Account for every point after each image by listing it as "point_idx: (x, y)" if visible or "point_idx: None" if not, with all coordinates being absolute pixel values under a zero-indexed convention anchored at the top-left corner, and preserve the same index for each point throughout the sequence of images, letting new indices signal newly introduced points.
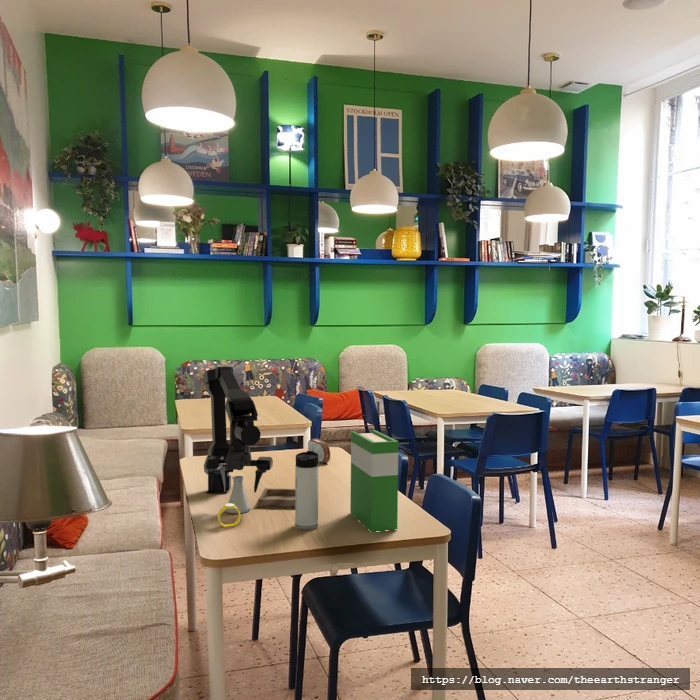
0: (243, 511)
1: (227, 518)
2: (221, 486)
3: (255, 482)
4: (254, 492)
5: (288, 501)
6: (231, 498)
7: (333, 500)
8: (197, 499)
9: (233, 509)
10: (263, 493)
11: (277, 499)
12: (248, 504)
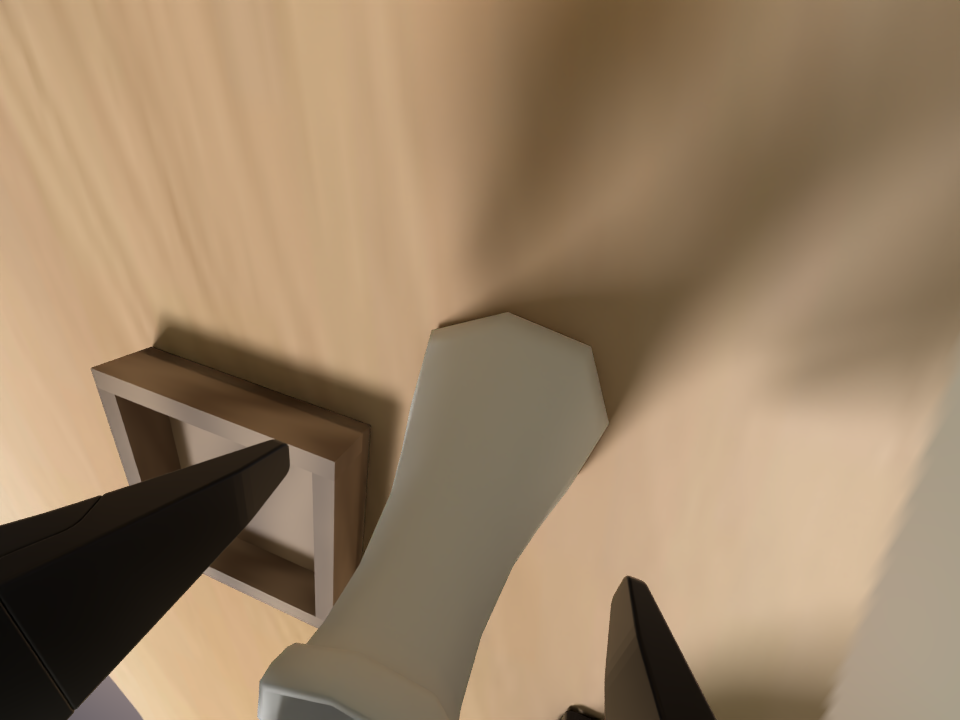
0: (459, 328)
1: (616, 193)
2: (682, 665)
3: (142, 509)
4: (286, 443)
5: (159, 383)
6: (546, 448)
7: (58, 423)
8: (786, 711)
9: (541, 347)
10: (324, 560)
11: (210, 413)
12: (411, 408)
